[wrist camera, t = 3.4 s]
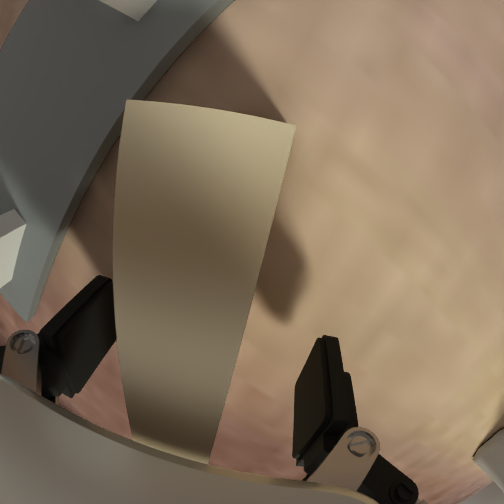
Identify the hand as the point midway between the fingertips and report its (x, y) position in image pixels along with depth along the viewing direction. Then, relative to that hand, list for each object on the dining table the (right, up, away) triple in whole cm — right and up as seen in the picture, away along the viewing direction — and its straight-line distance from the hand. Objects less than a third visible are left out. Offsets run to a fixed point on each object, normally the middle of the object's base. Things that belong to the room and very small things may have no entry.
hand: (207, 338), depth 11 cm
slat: (0, +1, +2) cm, 2 cm away
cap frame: (-8, +11, -1) cm, 13 cm away
